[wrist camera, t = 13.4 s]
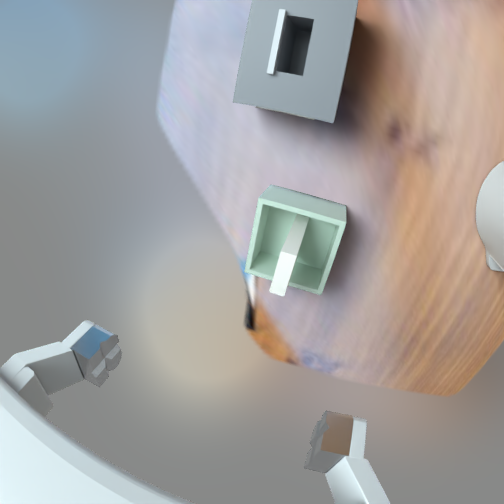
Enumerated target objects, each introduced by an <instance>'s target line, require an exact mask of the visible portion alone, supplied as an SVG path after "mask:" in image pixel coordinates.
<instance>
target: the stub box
mask: <svg viewBox="0 0 504 504" xmlns="http://www.w3.org/2000/svg"><path fill="white" fill-rule="evenodd" d="M297 213H298V214H301V215H305V216H308V217H309V220H308V224H307V227H306V230H305V234H304V237H303V240H302V243H301V247H300V250H299V253H298V256H297V259H296V262H295V265H294V268H293V271H292V274H291V277H290V280H289V283H288V286H292V287H295V288H298V289H302V290H305V291H308V292H312V293H315V294H318V295H321V294H322V292H323V289H324V286H325V283H326V281H327V278H328V275H329V272H330V270H331V267H332V264H333V261H334V258H335V255H336V252H337V249H338V246H339V243H340V240H341V237H342V234H343V231H344V228H345V225H346V205H342V204H339V203H336V202H332V201H329V200H326V199H322V198H319V197H315V196H312V195H308V194H305V193H301V192H297V191H294V190H290V189H286V188H282V187H279V186H275V185H270V186H269V187H268V188H267V189H266V190H265V191H264V192H263V193H262V195H261V196H260V197H259V199H258V204H257V209H256V214H255V219H254V225H253V230H252V235H251V240H250V245H249V251H248V256H247V261H246V266H245V271H244V272H246V273H249V274H252V275H255V276H259V277H262V278H265V279H268V280H273V277H274V273H275V270H276V266H277V263H278V259H279V256H280V252H281V249H282V247H283V245H284V243H285V240H286V238H287V236H288V234H289V231H290V229H291V227H292V225H293V222H294V220H295V218H296V215H297Z"/></svg>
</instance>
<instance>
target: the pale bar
mask: <svg viewBox="0 0 504 504" xmlns="http://www.w3.org/2000/svg"><path fill="white" fill-rule="evenodd" d="M308 220H309V217H308V216H305V215H301V214H298V213H297V215H296V218H295V220H294V222H293V225H292V227H291V229H290V231H289V234H288V236H287V238H286V240H285V243H284V245H283V247H282V249H281V252H280V256H279V259H278V263H277V266H276V270H275V273H274V277H273V280H272V284H271V287H270V291H269V292H271V293H274V294H277V295H280V296H283V297H284V295H285V292H286V289H287V286H288V283H289V280H290V277H291V274H292V271H293V268H294V265H295V262H296V259H297V256H298V253H299V250H300V247H301V243H302V240H303V237H304V234H305V230H306V227H307V224H308Z"/></svg>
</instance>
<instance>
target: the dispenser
mask: <svg viewBox="0 0 504 504" xmlns="http://www.w3.org/2000/svg"><path fill="white" fill-rule="evenodd" d="M357 6H358V0H252V4H251V9H250V14H249V18H248V23H247V28H246V33H245V38H244V43H243V48H242V54H241V59H240V64H239V70H238V75H237V81H236V86H235V92H234V98H233V102H234V103H240V104H246V105H252V106H256V107H257V108H262V109H267V110H272V111H277V112H282V113H287V114H291V115H296V116H300V117H304V118H309V119H313V120H314V119H318V120H322V121H325V122H329V123H334V121H335V118H336V113H337V109H338V104H339V100H340V95H341V91H342V86H343V81H344V77H345V72H346V67H347V62H348V57H349V52H350V47H351V42H352V36H353V31H354V26H355V20H356V13H357Z"/></svg>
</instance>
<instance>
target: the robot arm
mask: <svg viewBox="0 0 504 504" xmlns="http://www.w3.org/2000/svg"><path fill="white" fill-rule="evenodd" d="M476 224H477V229H478V233H479V235H480V238H481V240H482V242H483V244H484V246H485V249H486V262H487V265H488V267H489V268H490V269H491V270H495V271H503V272H504V161H503V162H501V163H499V164H498V165H497V166H496V167H495V168H493V170H492V171H491V172H490V173H489V174H488V176H487V177H486V179H485V181H484V183H483V185H482V187H481V189H480V192H479V195H478V199H477V205H476ZM118 342H119V339H118V336H117V335H115V334H113V333H112V332H110V331H108V330H106V329H104V328H102V327H100V326H98V325H97V324H95V323H93V322H91V321H89V320H86V321H83V322H82V323H81V324H80V325H79V326H78V327H77V328H76V329H75V330H74V331H73V332H72V333H71V334H70V335H69V336H68V337H67V338H66V339H65V340H64V341H63V342H62V343H61V342H55V343H52V344H49V345H45V346H42V347H38V348H35V349H31V350H28V351H24V352H20V353H17V354H14V355H13V356H12V357H11V358H10V359H9V360H8V361H7V362H6V363H5V364H4V365H3V366H2V367H1V368H0V504H196V503H193V502H191V501H189V500H186V499H184V498H181V497H179V496H176V495H174V494H172V493H169V492H167V491H165V490H163V489H161V488H158V487H156V486H154V485H152V484H150V483H148V482H146V481H144V480H142V479H140V478H138V477H136V476H134V475H133V474H131V473H129V472H127V471H125V470H123V469H122V468H120V467H118V466H116V465H115V464H113V463H111V462H109V461H108V460H106V459H104V458H103V457H101V456H99V455H98V454H96V453H95V452H93V451H92V450H90V449H88V448H87V447H86V446H84V445H83V444H81V443H80V442H78V441H76V440H75V439H74V438H72V437H71V436H69V435H68V434H67V433H65V432H64V431H62V430H61V429H60V428H59V427H57V426H56V425H54V424H53V423H52V422H51V421H50V420H48V419H47V418H46V415H47V414H48V412H50V410H51V409H52V408H53V403H52V401H51V400H50V398H49V397H48V395H50V394H53V393H55V392H57V391H59V390H62V389H64V388H66V387H69V386H71V385H73V384H75V383H77V382H80V381H82V380H84V379H86V380H88V381H89V382H91V383H93V384H94V385H96V386H98V387H100V386H101V385H102V384H103V383H104V382H105V380H106V379H107V378H108V377H109V371H111V370H114V369H115V368H116V367H117V365H118V364H119V362H120V359H121V349H120V347H119V346H118V344H117V343H118ZM366 429H367V421H366V419H364V418H359V417H353V416H350V415H345V414H340V413H336V412H331V411H325V412H324V414H323V415H322V420H321V421H318V423H317V424H316V426H315V428H314V430H313V433H312V437H311V441H310V444H311V446H312V448H311V449H310V451H309V452H308V453H307V458H306V461H305V466H304V468H305V469H309V470H313V471H318V472H322V473H326V474H325V475H326V478H327V481H328V483H329V487H330V490H331V493H332V495H333V498H334V501H335V504H390V502H389V500H388V498H387V496H386V494H385V492H384V490H383V488H382V487H381V485H380V483H379V481H378V479H377V477H376V475H375V473H374V471H373V469H372V468H371V466H370V464H369V462H368V460H367V459H364V451H365V441H366V440H365V439H366Z"/></svg>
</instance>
